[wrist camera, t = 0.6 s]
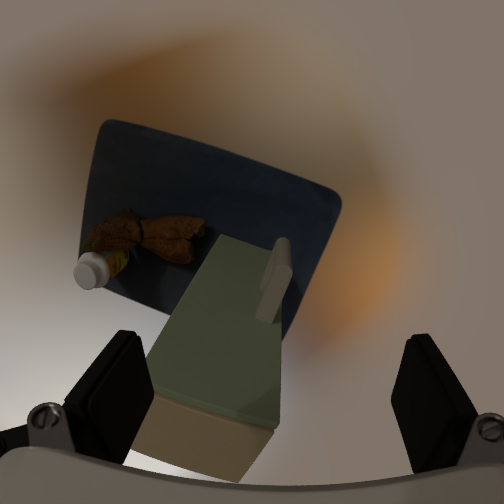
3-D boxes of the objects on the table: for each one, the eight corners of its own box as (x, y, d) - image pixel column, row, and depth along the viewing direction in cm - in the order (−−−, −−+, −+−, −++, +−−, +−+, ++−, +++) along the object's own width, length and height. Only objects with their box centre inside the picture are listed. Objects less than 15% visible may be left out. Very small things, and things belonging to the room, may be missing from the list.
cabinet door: (232, 196, 45) (147, 300, 16) (296, 218, 45) (320, 357, 16) (219, 238, 47) (133, 383, 18) (280, 259, 47) (275, 429, 18)
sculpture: (80, 216, 36) (186, 263, 37) (119, 181, 44) (211, 218, 45) (80, 261, 41) (173, 305, 42) (114, 223, 49) (196, 259, 50)
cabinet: (219, 239, 47) (132, 387, 18) (279, 260, 48) (274, 433, 18) (204, 285, 50) (126, 447, 21) (261, 304, 50) (238, 483, 21)
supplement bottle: (123, 274, 51) (93, 302, 41) (97, 256, 50) (64, 280, 41) (136, 248, 49) (106, 273, 39) (109, 230, 48) (75, 250, 39)
